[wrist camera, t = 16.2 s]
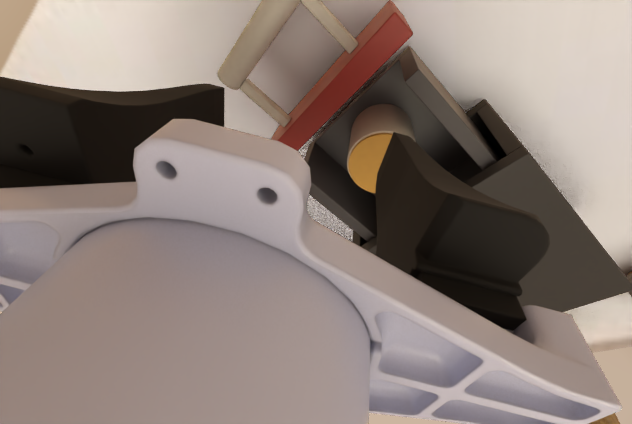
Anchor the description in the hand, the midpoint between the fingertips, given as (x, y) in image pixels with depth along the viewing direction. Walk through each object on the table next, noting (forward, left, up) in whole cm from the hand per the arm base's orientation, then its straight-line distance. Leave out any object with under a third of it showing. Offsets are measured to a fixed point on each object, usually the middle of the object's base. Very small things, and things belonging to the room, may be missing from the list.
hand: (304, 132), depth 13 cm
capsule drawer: (+3, -2, -9) cm, 9 cm away
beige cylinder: (+4, -3, -8) cm, 9 cm away
